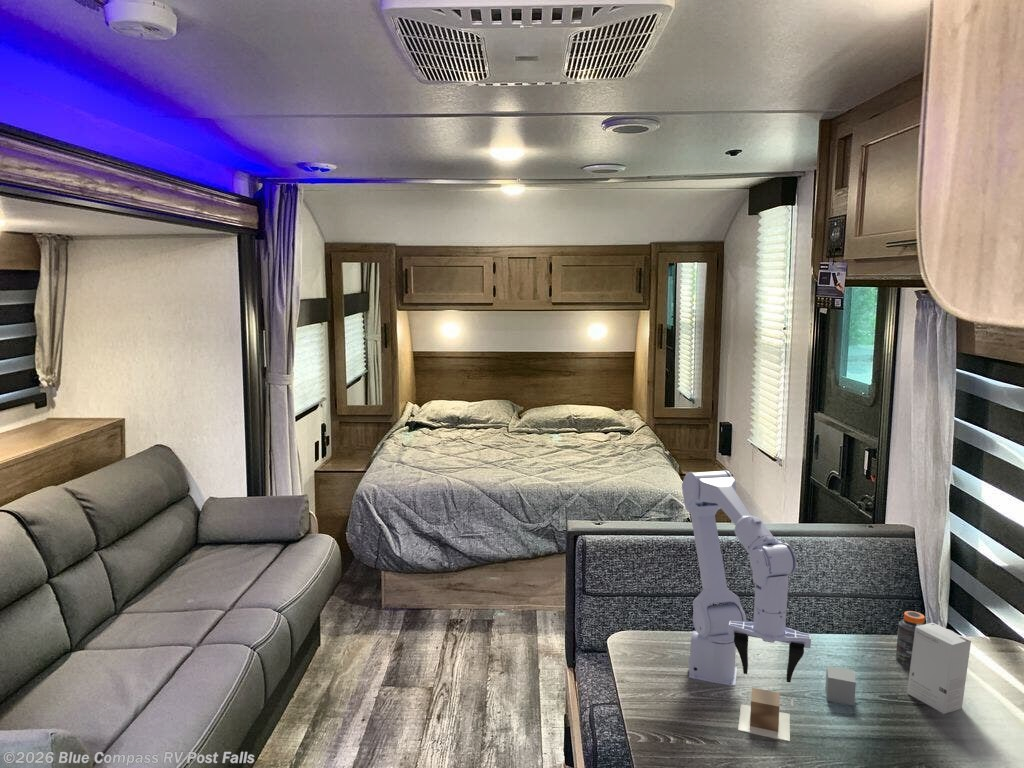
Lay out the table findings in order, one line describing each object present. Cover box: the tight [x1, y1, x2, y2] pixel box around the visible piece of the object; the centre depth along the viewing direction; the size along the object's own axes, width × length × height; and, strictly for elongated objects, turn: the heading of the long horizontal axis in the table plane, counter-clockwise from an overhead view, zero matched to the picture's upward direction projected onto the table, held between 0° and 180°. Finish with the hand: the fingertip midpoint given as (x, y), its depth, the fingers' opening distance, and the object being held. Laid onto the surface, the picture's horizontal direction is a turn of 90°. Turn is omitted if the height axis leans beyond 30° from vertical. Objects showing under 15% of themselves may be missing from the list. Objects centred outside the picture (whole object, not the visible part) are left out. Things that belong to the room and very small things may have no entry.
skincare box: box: [906, 622, 972, 715], centre depth 138 cm, size 8×6×15 cm
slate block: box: [824, 665, 857, 707], centre depth 140 cm, size 5×5×5 cm
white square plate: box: [737, 704, 791, 743], centre depth 132 cm, size 9×9×1 cm
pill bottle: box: [895, 610, 926, 668], centre depth 154 cm, size 6×6×11 cm
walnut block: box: [750, 687, 781, 732], centre depth 131 cm, size 5×5×5 cm
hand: (766, 675), depth 131 cm, fingers open, 7 cm apart
